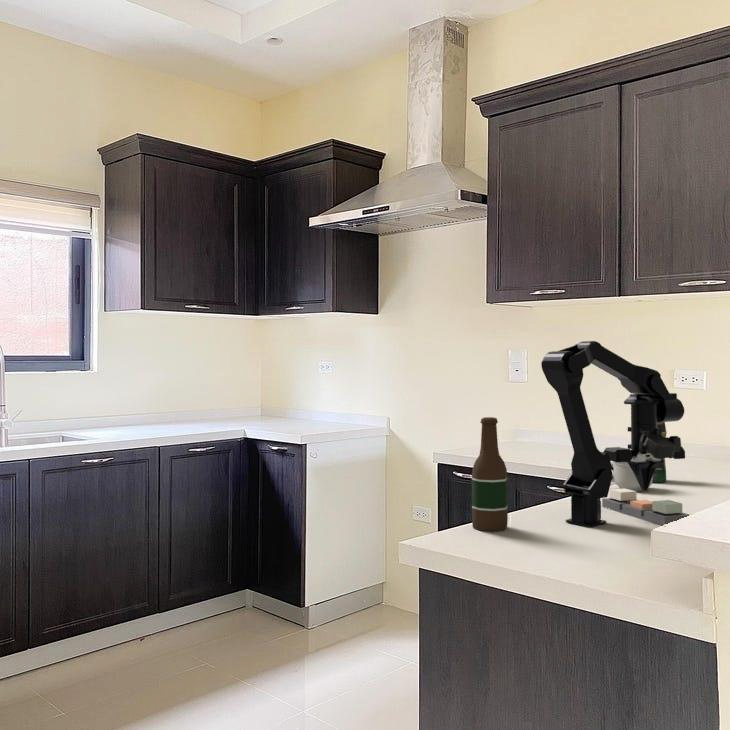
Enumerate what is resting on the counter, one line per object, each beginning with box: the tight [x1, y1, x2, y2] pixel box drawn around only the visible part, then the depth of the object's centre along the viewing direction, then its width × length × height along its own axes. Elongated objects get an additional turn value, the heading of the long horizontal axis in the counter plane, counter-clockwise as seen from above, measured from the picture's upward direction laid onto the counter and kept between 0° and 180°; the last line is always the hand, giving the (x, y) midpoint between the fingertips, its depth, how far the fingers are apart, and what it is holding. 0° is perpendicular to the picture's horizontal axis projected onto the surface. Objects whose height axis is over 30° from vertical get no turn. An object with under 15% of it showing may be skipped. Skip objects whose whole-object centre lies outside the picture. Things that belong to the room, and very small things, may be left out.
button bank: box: [601, 497, 690, 526], centre depth 173 cm, size 23×7×2 cm, turn 16°
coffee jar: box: [652, 422, 668, 484], centre depth 221 cm, size 10×8×19 cm
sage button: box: [651, 499, 683, 514], centre depth 166 cm, size 4×4×2 cm
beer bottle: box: [471, 416, 509, 533], centre depth 161 cm, size 8×8×24 cm
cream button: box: [609, 488, 638, 501], centre depth 181 cm, size 4×4×2 cm
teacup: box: [610, 461, 653, 492], centre depth 208 cm, size 14×11×8 cm
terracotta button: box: [630, 499, 653, 509], centre depth 173 cm, size 4×4×2 cm
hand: (644, 490), depth 174 cm, fingers closed
